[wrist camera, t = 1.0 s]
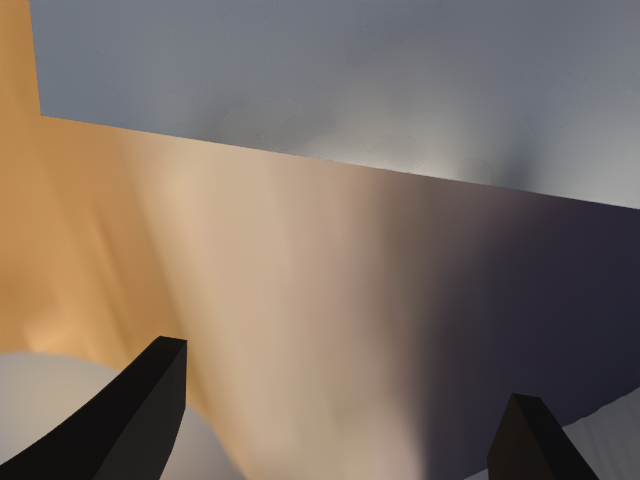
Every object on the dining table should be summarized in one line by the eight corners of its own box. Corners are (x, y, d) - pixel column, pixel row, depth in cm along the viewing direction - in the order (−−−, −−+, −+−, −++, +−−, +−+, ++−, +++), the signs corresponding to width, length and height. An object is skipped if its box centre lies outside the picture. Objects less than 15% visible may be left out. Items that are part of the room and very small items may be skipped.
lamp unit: (745, -112, 15) (982, -115, 9) (636, 150, 19) (756, 273, 13) (113, -205, 16) (-61, -268, 9) (122, 71, 19) (-1, 153, 13)
